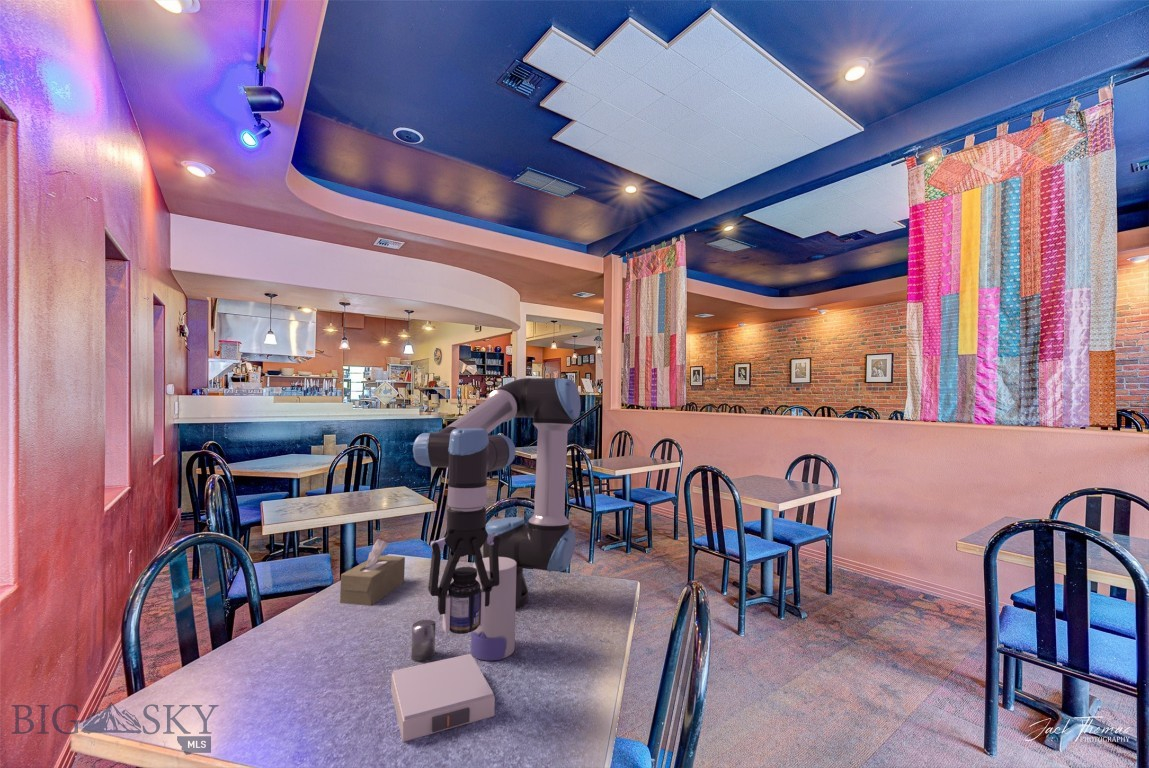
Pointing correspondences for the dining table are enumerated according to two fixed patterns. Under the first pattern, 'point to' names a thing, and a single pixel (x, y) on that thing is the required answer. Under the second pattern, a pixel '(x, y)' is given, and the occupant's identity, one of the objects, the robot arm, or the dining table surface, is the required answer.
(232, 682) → the dining table surface
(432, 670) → the scale
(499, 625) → the container
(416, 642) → the cylinder
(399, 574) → the tissue box
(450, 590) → the pill bottle
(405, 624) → the dining table surface
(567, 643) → the dining table surface
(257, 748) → the dining table surface
